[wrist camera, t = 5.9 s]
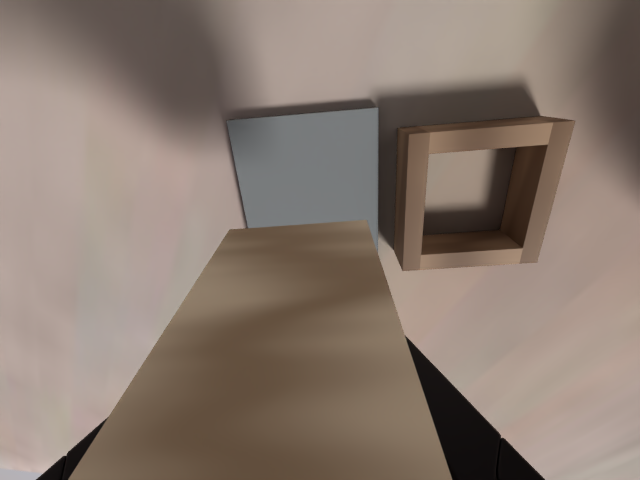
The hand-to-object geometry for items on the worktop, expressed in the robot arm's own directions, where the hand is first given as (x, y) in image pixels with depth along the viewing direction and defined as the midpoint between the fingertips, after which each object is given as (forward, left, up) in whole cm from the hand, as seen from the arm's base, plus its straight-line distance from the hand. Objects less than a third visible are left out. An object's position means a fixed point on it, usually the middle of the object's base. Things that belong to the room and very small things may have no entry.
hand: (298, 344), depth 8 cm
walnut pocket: (-9, 0, -12) cm, 15 cm away
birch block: (0, 0, -3) cm, 3 cm away
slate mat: (0, 0, -12) cm, 12 cm away
